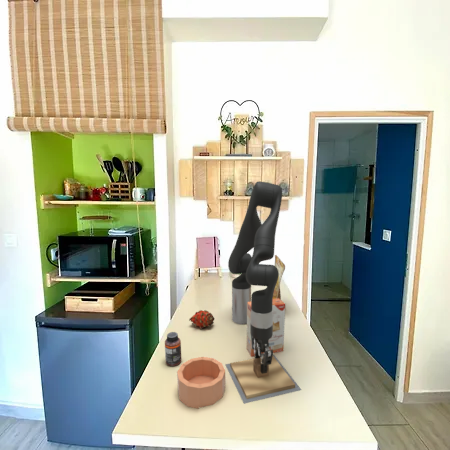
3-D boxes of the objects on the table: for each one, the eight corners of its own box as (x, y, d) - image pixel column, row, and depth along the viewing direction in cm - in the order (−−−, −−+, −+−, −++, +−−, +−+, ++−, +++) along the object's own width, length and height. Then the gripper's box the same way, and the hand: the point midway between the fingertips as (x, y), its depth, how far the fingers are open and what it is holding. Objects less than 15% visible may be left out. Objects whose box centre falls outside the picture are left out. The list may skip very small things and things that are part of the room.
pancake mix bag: (279, 302, 163) (281, 254, 158) (284, 319, 144) (285, 264, 140) (267, 302, 163) (268, 253, 159) (270, 318, 144) (271, 264, 140)
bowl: (175, 380, 101) (175, 361, 100) (217, 371, 105) (217, 354, 104) (182, 413, 86) (181, 392, 85) (230, 402, 91) (230, 381, 90)
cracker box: (251, 358, 112) (251, 307, 109) (246, 350, 118) (246, 301, 115) (284, 352, 116) (285, 303, 113) (277, 344, 122) (278, 297, 119)
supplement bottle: (174, 355, 115) (173, 328, 113) (184, 361, 111) (183, 333, 109) (162, 362, 110) (161, 335, 108) (172, 369, 107) (171, 340, 105)
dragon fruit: (216, 331, 136) (191, 333, 137) (216, 314, 142) (192, 317, 143) (212, 322, 130) (186, 325, 131) (212, 305, 136) (187, 308, 137)
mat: (225, 365, 108) (225, 364, 108) (274, 356, 114) (274, 354, 114) (243, 405, 89) (243, 403, 89) (301, 391, 95) (301, 389, 95)
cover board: (230, 366, 107) (230, 351, 106) (272, 357, 112) (272, 344, 111) (246, 399, 91) (246, 382, 90) (295, 387, 96) (295, 371, 95)
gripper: (243, 314, 104) (243, 358, 107) (259, 334, 90) (259, 384, 93) (263, 311, 106) (262, 354, 109) (281, 330, 93) (280, 379, 95)
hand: (260, 367), depth 101 cm, fingers open, 4 cm apart
